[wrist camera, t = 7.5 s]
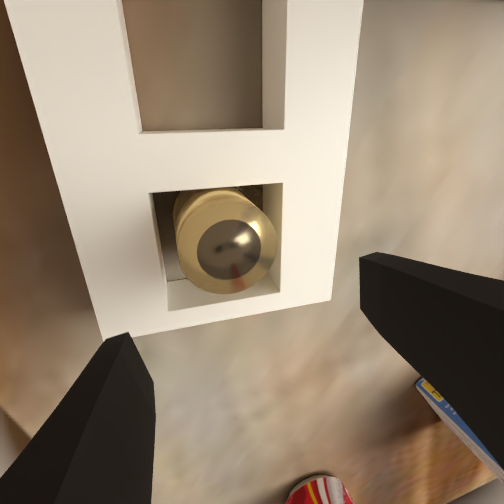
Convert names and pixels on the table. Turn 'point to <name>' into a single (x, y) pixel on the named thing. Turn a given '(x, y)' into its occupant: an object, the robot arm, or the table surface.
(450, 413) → the ink cartridge box
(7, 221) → the table surface
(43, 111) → the jig plate
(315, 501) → the soda can
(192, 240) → the brass bushing
